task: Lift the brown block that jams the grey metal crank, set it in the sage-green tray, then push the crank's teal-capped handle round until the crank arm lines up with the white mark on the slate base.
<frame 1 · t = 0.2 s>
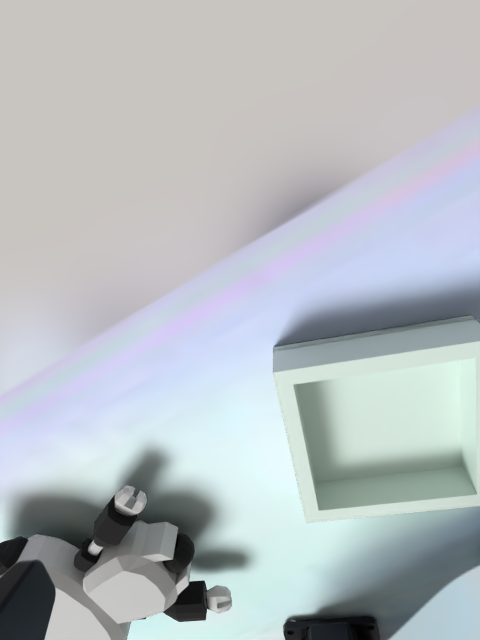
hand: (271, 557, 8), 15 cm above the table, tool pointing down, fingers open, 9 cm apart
robot toy: (107, 552, 31), on the table
tray: (378, 411, 24), on the table
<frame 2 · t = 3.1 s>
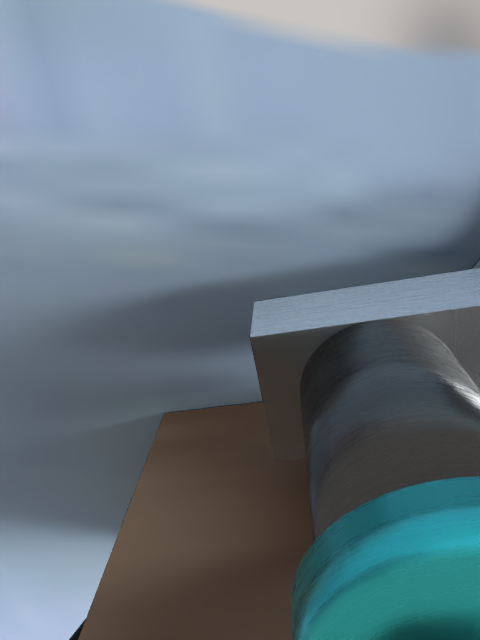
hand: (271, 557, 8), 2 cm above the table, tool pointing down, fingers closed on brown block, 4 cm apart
brown block: (271, 476, 10), on the table, touching gripper
when the fingers open (4 cm above the table, at t = 7.0 s): brown block drops 2 cm, resting on tray.
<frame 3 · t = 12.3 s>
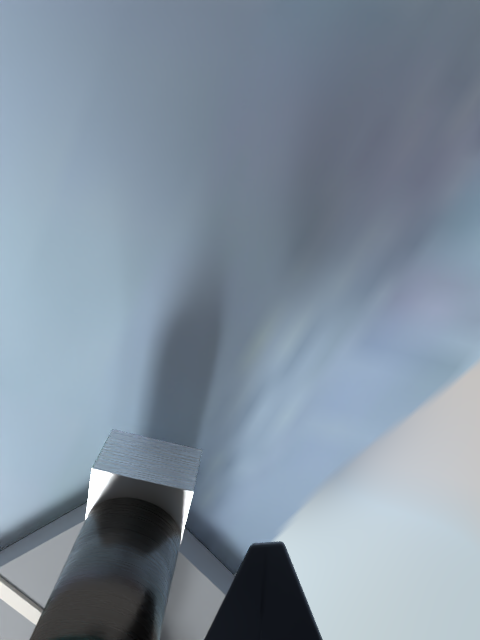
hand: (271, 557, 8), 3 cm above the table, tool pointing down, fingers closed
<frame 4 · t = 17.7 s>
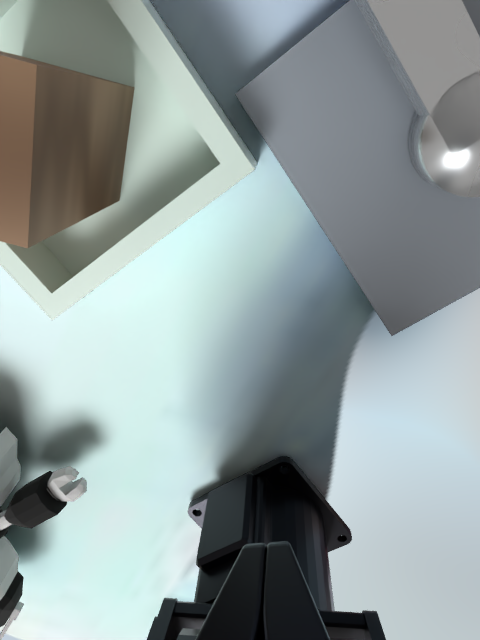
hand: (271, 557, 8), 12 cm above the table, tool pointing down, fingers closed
brown block: (73, 132, 16), resting on tray
crank base: (452, 133, 16), on the table
tray: (79, 131, 17), on the table
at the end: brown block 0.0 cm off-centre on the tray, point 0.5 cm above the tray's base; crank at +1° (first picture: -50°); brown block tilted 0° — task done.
